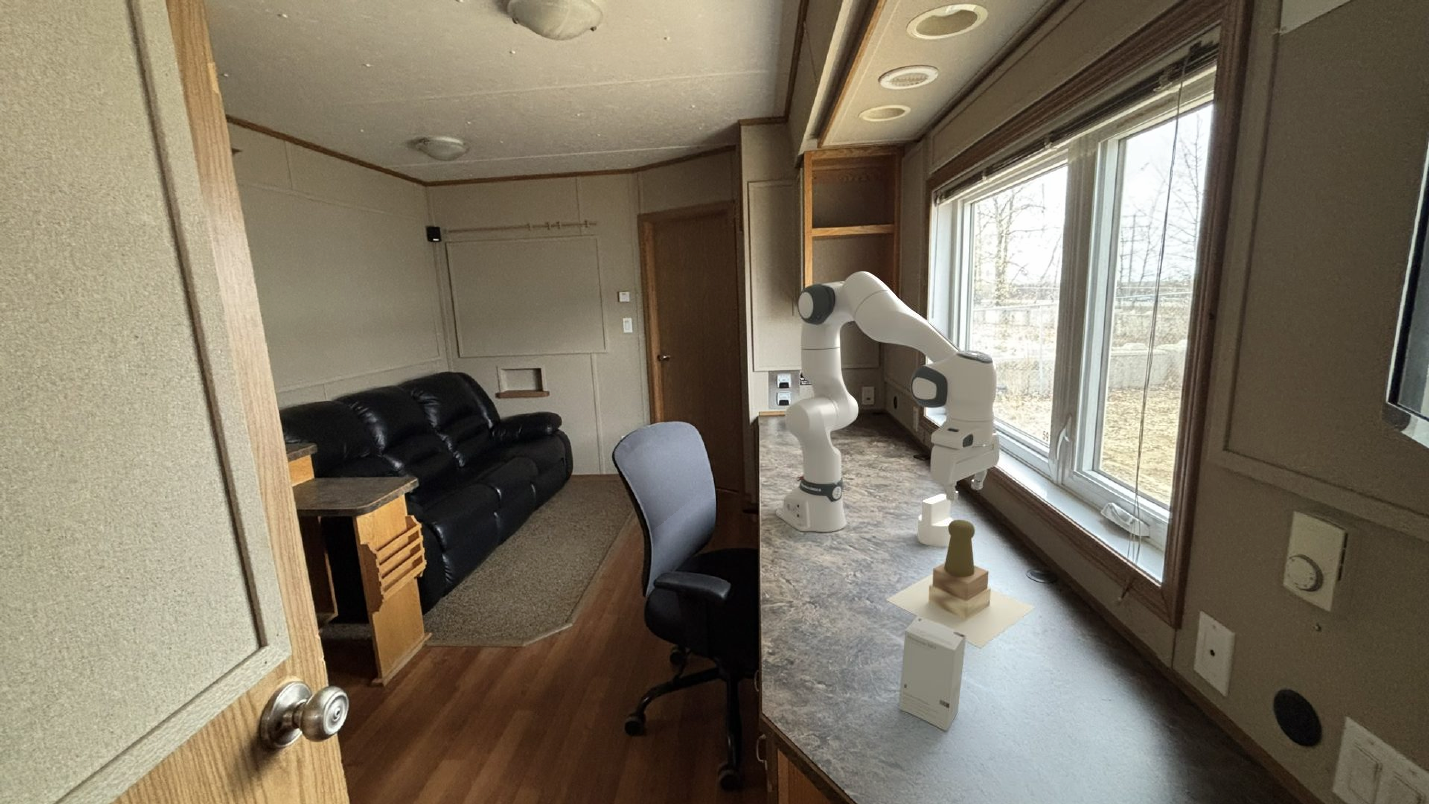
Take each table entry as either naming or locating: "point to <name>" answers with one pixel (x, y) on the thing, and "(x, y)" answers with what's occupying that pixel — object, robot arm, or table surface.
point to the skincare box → (932, 672)
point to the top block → (961, 582)
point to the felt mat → (976, 628)
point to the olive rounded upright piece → (960, 549)
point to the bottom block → (959, 602)
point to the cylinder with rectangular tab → (935, 521)
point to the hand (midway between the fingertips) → (964, 494)
